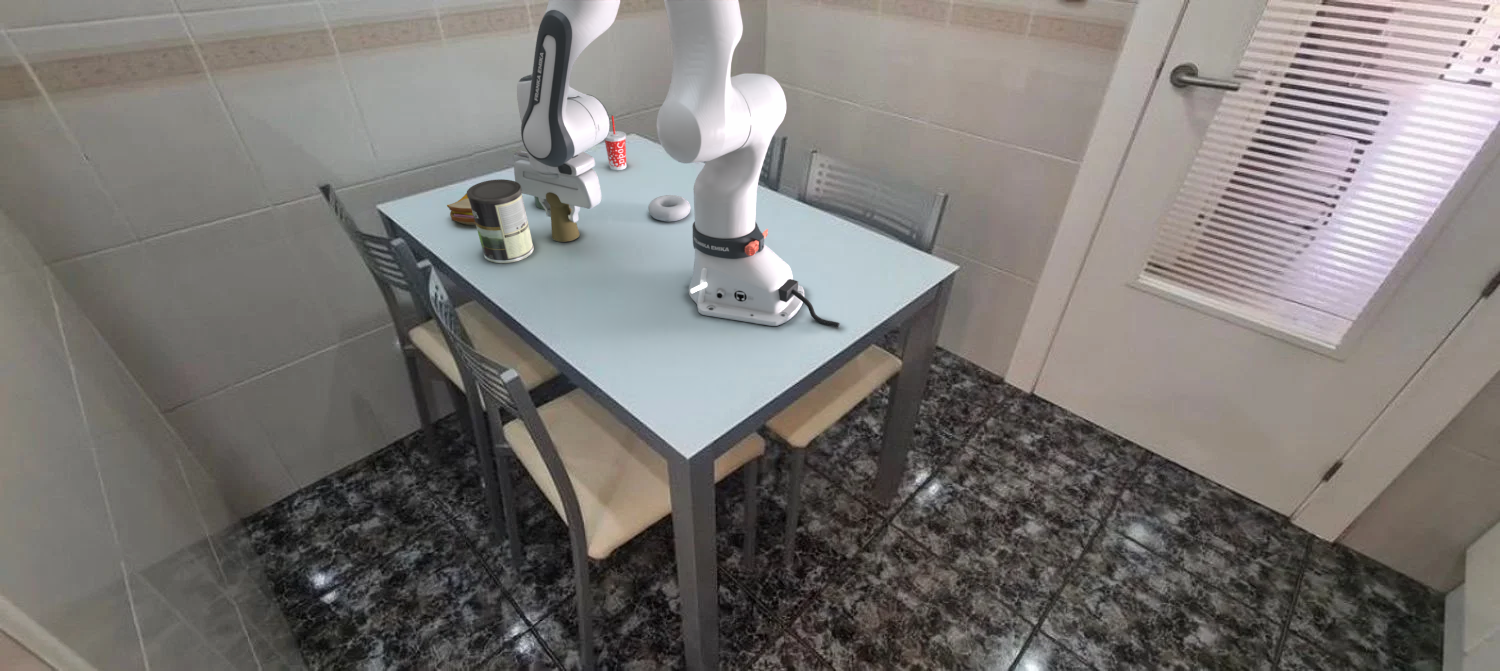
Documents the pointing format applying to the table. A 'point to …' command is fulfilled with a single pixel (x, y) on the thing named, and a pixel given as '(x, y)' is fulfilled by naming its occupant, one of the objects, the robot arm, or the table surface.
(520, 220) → the coffee can
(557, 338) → the table surface
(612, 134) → the beverage cup
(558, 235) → the cork
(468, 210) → the toy sandwich meal
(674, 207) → the donut
